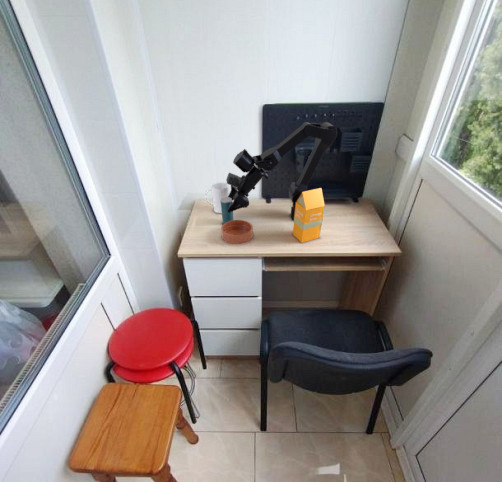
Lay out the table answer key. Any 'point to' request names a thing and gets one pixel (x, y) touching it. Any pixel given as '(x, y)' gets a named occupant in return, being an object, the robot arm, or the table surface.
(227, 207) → the can
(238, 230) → the pot
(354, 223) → the table surface
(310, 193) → the orange juice
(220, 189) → the mug
